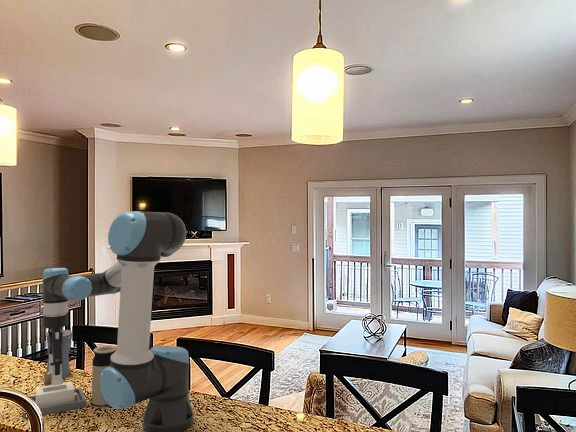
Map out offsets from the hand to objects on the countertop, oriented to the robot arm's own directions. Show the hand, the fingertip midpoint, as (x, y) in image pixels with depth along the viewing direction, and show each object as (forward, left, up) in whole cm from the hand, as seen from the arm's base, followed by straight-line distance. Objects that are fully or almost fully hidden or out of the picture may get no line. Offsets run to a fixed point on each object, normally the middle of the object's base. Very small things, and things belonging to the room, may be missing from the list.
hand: (55, 378), depth 148 cm
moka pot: (+30, -3, -9) cm, 32 cm away
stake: (+14, +1, -9) cm, 17 cm away
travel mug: (-5, -15, -9) cm, 18 cm away
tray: (0, 0, -9) cm, 9 cm away
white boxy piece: (0, 0, -8) cm, 8 cm away
